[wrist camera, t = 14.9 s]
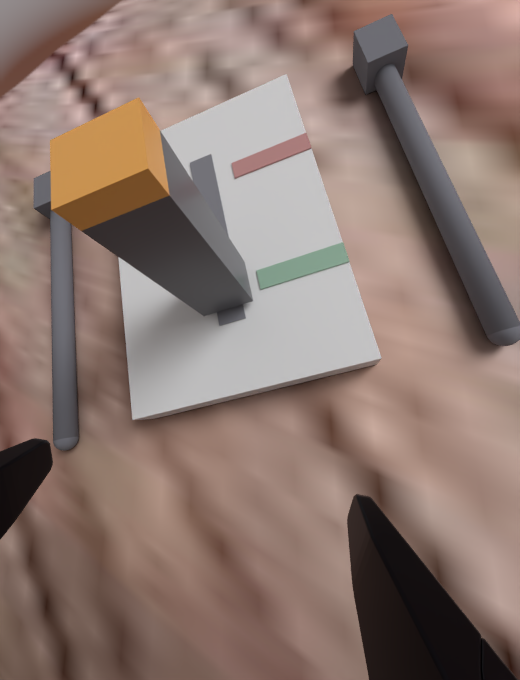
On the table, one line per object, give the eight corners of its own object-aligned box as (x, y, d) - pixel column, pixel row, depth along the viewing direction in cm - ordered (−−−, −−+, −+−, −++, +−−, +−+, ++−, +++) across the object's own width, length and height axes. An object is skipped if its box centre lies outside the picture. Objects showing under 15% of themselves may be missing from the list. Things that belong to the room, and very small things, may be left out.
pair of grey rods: (529, 341, 15) (556, 331, 13) (60, 452, 20) (32, 456, 18) (387, 49, 21) (391, 13, 19) (55, 195, 26) (33, 178, 24)
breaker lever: (253, 301, 17) (148, 168, 8) (203, 316, 17) (51, 209, 8) (244, 261, 17) (138, 97, 8) (197, 277, 18) (50, 140, 9)
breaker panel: (376, 364, 16) (381, 357, 14) (152, 419, 19) (131, 419, 17) (291, 102, 22) (286, 72, 20) (127, 173, 25) (108, 152, 23)
